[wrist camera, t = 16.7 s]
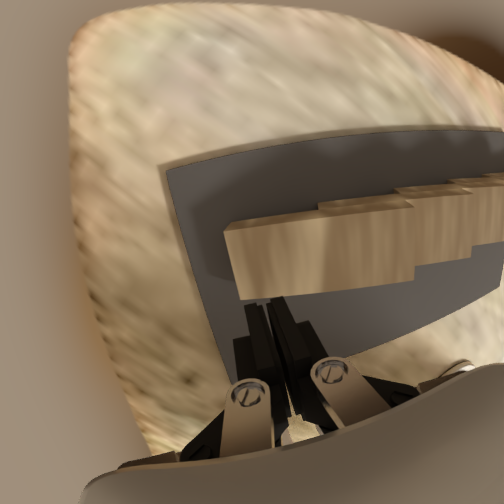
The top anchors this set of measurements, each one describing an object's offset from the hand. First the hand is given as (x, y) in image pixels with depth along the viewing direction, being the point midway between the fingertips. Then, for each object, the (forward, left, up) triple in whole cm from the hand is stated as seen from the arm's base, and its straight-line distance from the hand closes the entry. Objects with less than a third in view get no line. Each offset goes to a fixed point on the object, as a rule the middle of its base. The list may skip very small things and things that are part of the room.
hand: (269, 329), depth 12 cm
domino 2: (0, -5, -8) cm, 10 cm away
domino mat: (-3, -14, -10) cm, 18 cm away
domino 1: (0, +1, -8) cm, 8 cm away
